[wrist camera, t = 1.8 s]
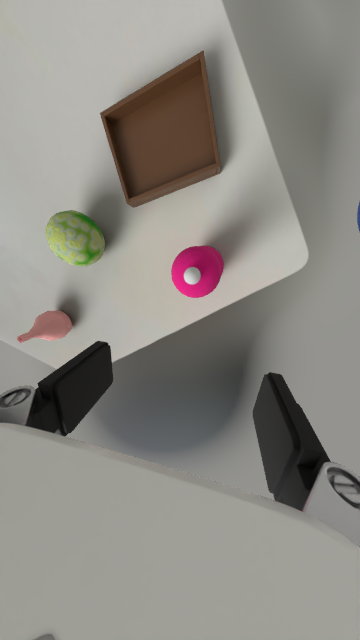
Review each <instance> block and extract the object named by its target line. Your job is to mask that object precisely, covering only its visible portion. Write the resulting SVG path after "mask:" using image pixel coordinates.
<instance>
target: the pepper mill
mask: <svg viewBox="0 0 360 640" xmlns="http://www.w3.org/2000/svg"><path fill="white" fill-rule="evenodd" d="M223 268H224V263H223V259H222V256H221V255H220V253H219V252H218V251H217V250H216V249H214V248H212V247H209V246H194V247H189V248H187V249H185V250H183V251H182V252H181V253H180V254H179V255H178V256H177V257H176V259H175V260H174V263H173V265H172V271H171V272H172V280H173V282H174V285H175V286H176V288H177V289H178V290H179V291H180V292H181V293H182V294H184V295H186V296H188V297H192V298H198V297H203V296H206V295H208V294H209V293H211V292H212V291H213V290H214V289H215V288H216V286H217V285H218V283H219V281H220V277H221V275H222V272H223Z"/></svg>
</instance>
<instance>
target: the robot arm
mask: <svg viewBox="0 0 360 640" xmlns="http://www.w3.org/2000/svg"><path fill="white" fill-rule="evenodd" d="M112 382H113V373H112V361H111V350H110V346H109V345H108V343H107V342H101V341H97V342H95V343H94V344H93V345H91V346H90V347H88V348H87V349H85V350H84V351H83V352H81V353H80V354H78V355H77V356H76V357H74V358H73V359H71V360H70V361H68V362H67V363H66V364H64V365H63V366H61V367H60V368H59V369H57V370H56V371H54V372H53V373H52V374H50V375H49V376H47V377H46V378H44V379H43V380H42V381H40V382H39V383H38V386H39V387H38V388H37V389H34V387H32V386H19V387H16V388H13V389H11V390H8V391H6V392H4V393H3V394H1V395H0V640H360V477H359V476H358V475H357V474H355V473H354V472H353V471H351V470H349V469H348V468H346V467H345V466H342V465H340V464H338V463H335V462H331V461H330V459H329V458H328V456H327V454H326V452H325V450H324V448H323V447H322V445H321V443H320V441H319V439H318V438H317V436H316V434H315V432H314V430H313V428H312V426H311V425H310V423H309V421H308V419H307V417H306V415H305V414H304V412H303V410H302V408H301V407H300V405H299V404H297V403H296V401H295V399H294V397H293V395H292V393H291V392H290V390H289V388H288V386H287V384H286V382H285V380H284V378H283V377H282V375H280V374H275V373H268V375H264V378H263V381H262V384H261V387H260V390H259V393H258V396H257V400H256V403H255V406H254V409H253V419H254V424H255V429H256V433H257V438H258V443H259V447H260V451H261V457H262V461H263V466H264V471H265V475H266V480H267V485H268V488H269V491H270V493H273V494H274V499H275V501H274V500H272V499H269V498H266V497H263V496H259V495H256V494H253V493H250V492H247V491H244V490H241V489H238V488H235V487H232V486H229V485H225V484H222V483H219V482H216V481H212V480H209V479H206V478H202V477H199V476H196V475H193V474H189V473H186V472H182V471H179V470H176V469H173V468H169V467H166V466H163V465H160V464H156V463H152V462H149V461H146V460H142V459H140V458H136V457H132V456H129V455H126V454H123V453H119V452H116V451H113V450H109V449H106V448H103V447H99V446H96V445H92V444H88V443H85V442H82V441H78V440H75V439H71V438H68V437H65V436H66V435H67V434H68V433H71V432H72V431H73V430H74V429H75V427H76V426H77V425H78V424H79V423H80V421H81V420H82V419H83V418H84V417H85V415H86V414H87V413H88V412H89V411H90V409H91V408H92V407H93V406H94V405H95V403H96V402H97V401H98V400H99V399H100V397H101V396H102V395H103V394H104V393H105V391H106V390H107V389H108V388H109V387H110V385H111V384H112Z"/></svg>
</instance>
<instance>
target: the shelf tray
mask: <svg viewBox="0 0 360 640" xmlns="http://www.w3.org/2000/svg"><path fill="white" fill-rule="evenodd" d="M100 115H101V118H102V122H103V125H104V128H105V132H106V135H107V138H108V142H109V145H110V148H111V152H112V155H113V158H114V162H115V165H116V168H117V172H118V175H119V178H120V182H121V185H122V188H123V192H124V195H125V198H126V202H127V204H128V205H130V206H132V207H137V206H139V205H142V204H144V203H147V202H149V201H152V200H154V199H157V198H159V197H162V196H164V195H167V194H169V193H172V192H174V191H177V190H179V189H182V188H185V187H187V186H190V185H192V184H195V183H197V182H200V181H202V180H205V179H207V178H210V177H212V176H215V175H217V174H220V160H219V153H218V146H217V139H216V133H215V126H214V119H213V112H212V105H211V99H210V92H209V85H208V78H207V72H206V65H205V58H204V51H201V52H200V53H198V54H197V55H195V56H193V57H192V58H190V59H188V60H187V61H185V62H183V63H182V64H180V65H178V66H177V67H175V68H174V69H172V70H170V71H169V72H167V73H165V74H164V75H162V76H160V77H159V78H157V79H155V80H154V81H152V82H151V83H149V84H147V85H146V86H144V87H142V88H141V89H139V90H137V91H136V92H134V93H132V94H131V95H129V96H128V97H126V98H124V99H123V100H121V101H119V102H118V103H116V104H114V105H113V106H111V107H109V108H108V109H106V110H105V111H103V112H101V113H100Z"/></svg>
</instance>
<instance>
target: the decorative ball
mask: <svg viewBox="0 0 360 640" xmlns="http://www.w3.org/2000/svg"><path fill="white" fill-rule="evenodd" d="M46 238H47V240H48V243H49V245H50V248H51V250H52V251H53V252H54V253H55V255H57V256H58V257H60V258H61V259H62V260H64V261H65V262H67V263H69V264H72V265H77V266H88V265H90V264H93V263H95V262H96V261H98V260H99V259H100V258H101V256H102V255H103V252H104V249H105V241H104V236H103V234H102V232H101V230H100V229H99V227H98V226H97V224H96V223H95V222H94V221H93V220H91V219H90V218H89V217H87V216H86V215H84V214H82V213H80V212H77V211H73V210H70V211H64V212H60V213H56V214H55V215H54V216H52V217H51V218H50V220H49V222H48V224H47V226H46Z"/></svg>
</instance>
